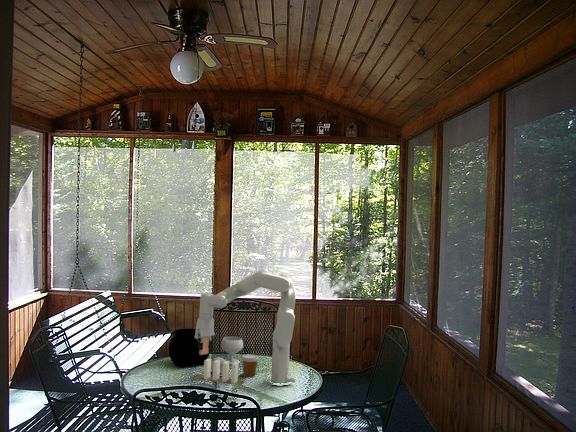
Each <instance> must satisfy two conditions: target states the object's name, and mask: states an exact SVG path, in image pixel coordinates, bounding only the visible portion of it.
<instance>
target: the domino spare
mask: <svg viewBox="0 0 576 432" xmlns="http://www.w3.org/2000/svg"><path fill="white" fill-rule="evenodd" d="M200 339H201V338H200ZM202 343H203V350H200V352H199V354H200V355H203V354H208V350H209V336H207V337H204V338H203V341H202Z"/></svg>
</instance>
